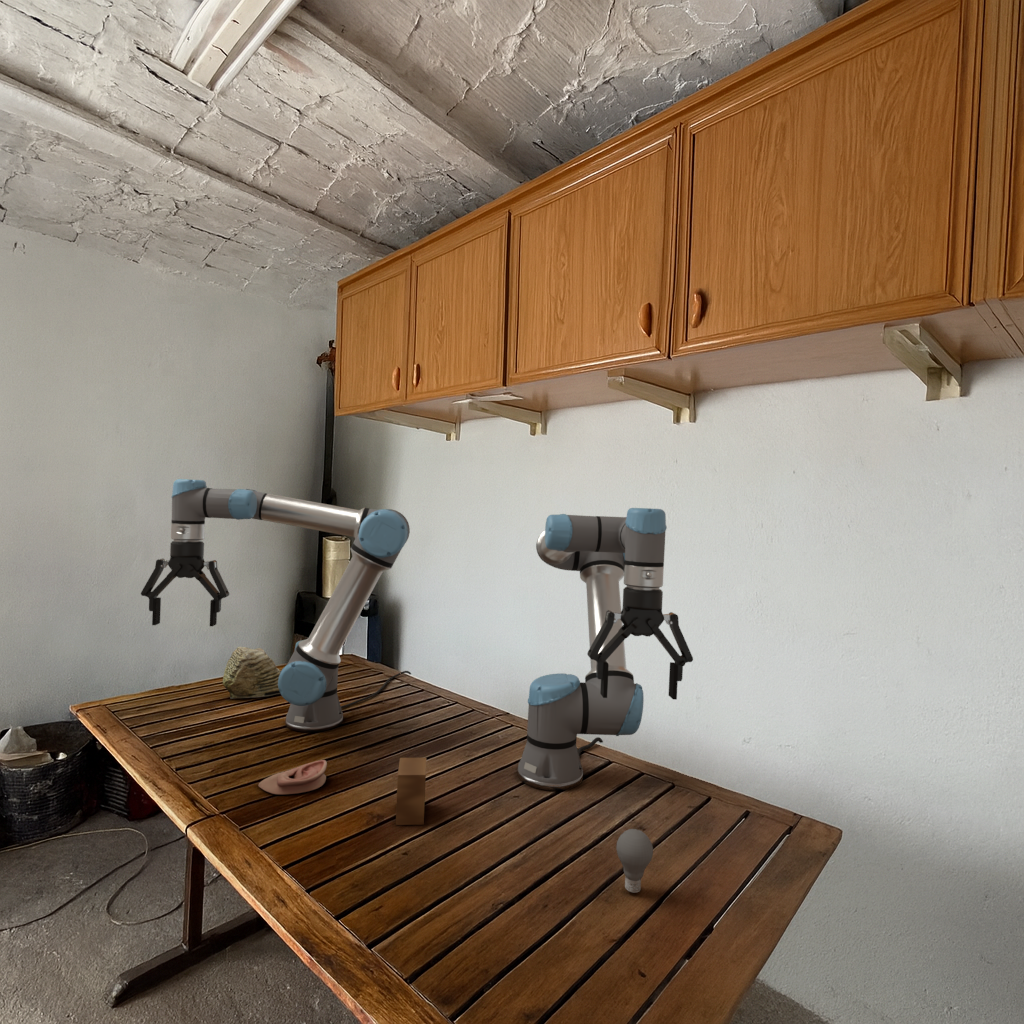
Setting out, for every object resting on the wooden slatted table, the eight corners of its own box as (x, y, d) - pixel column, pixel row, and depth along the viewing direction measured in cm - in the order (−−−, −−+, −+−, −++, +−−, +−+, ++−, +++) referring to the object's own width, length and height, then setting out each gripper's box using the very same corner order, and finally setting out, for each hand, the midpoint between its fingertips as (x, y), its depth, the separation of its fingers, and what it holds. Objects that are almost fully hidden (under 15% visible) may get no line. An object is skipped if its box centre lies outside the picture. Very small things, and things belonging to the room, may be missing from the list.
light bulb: (610, 879, 108) (613, 822, 108) (644, 879, 109) (647, 822, 109) (619, 902, 102) (622, 840, 102) (655, 901, 103) (658, 840, 103)
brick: (395, 825, 124) (397, 775, 123) (398, 804, 132) (400, 757, 132) (423, 824, 124) (425, 774, 124) (424, 804, 133) (426, 757, 132)
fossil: (218, 695, 195) (220, 647, 195) (278, 685, 208) (279, 640, 207) (228, 703, 189) (230, 653, 188) (289, 692, 201) (290, 645, 201)
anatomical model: (250, 772, 134) (280, 751, 146) (249, 790, 135) (280, 768, 146) (307, 780, 132) (333, 759, 143) (306, 799, 132) (333, 776, 143)
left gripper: (127, 539, 154) (124, 626, 154) (234, 543, 157) (231, 628, 157) (141, 537, 161) (138, 620, 162) (243, 541, 164) (240, 622, 165)
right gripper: (582, 587, 118) (578, 701, 118) (713, 592, 120) (708, 703, 120) (576, 582, 126) (571, 689, 126) (698, 587, 127) (694, 692, 128)
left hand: (184, 624), depth 159 cm, fingers open, 13 cm apart
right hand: (638, 696), depth 123 cm, fingers open, 13 cm apart
